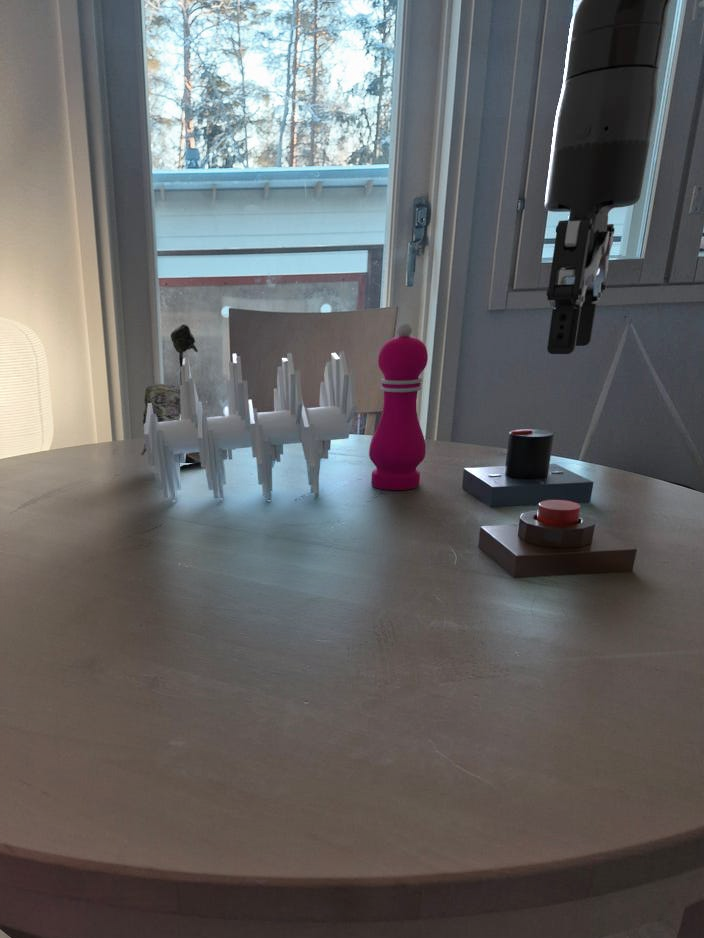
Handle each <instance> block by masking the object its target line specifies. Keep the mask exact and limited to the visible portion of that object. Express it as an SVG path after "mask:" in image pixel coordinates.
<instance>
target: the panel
mask: <svg viewBox="0 0 704 938" xmlns="http://www.w3.org/2000/svg"><path fill="white" fill-rule="evenodd" d="M504 472H505V465H503V466H481V467H464V468H463V473H462V474H463V476H462V484H461V488H463V489H464V490H465V491H466V492H467V493H469V494H471V495H472V496H474V497H475V498H476V499H477V500H479V501H481V502H482V503H483V504H485V505H486V506H488V507H489V508H490V509H491V508H492V509H493V508H510V507H529V506H530V507H531V506H532V507H533V506H539V503H540V502H542V501H546V500H565V501H571V502H575V503H577V504H586V503H587V504H588V503H589V504H590V503H591V501H592V495H593V490H594V481H593V480H590V479H588V478H586V477H584V476H582V475H580V474H578V473H575V472H573V471H571V470H569V469H567V468H565V467H563V466H561V465H559V464H557V463H550V464H549V471H548V476H547V477H544V478H539V479H520V478H513V477H509V476H507V475H505V473H504Z"/></svg>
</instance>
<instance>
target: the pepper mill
mask: <svg viewBox="0 0 704 938" xmlns="http://www.w3.org/2000/svg"><path fill="white" fill-rule="evenodd" d="M412 332H413V327H412V325H411V324H410V323H409V322H401V323H400V324H398V326H397V328H396V333H397V335H398V336H395V337H393V338H391V339H389V340H387V341H385V343H384V344H383V345H382V346H381V348H380V350H379V353H378V359H377V362H378V368H379V370H380V371H381V373H382V374H383V378H381V380H380V382H381V387H380V390H381V391H382V392H383V406H382V407H383V408H382V413H381V415H380V420H379V422H378V425H377V426H376V429H375V431H374V433H373V435H372V438H371V440H370V444H369V449H368V457H369V460H370V461H371V463H373V465H374V466H375V467H376V468H375V469H373V470H372V472H371V482H370V483H371V484H370V485H372V487H374V488H376V489H380V490H386V491H406V490H407V491H408V490H412V489H416V488H418V487H419V485H420V481H421V480H420V478H421V471H419V470H418V469H417V468H418V467H419V465H420V464H421V463H422V462H423V460H424V459H425V457H426V441H425V436H424V433H423V429H422V427H421V425H420V422H419V417H418V412H417V400H418V392H419V391H421V390H422V386H421V385H422V383H421V382H423V378H421V377H420V376H421V374H422V372H423V371H424V370H425V369H426V367H427V365H428V360H429V358H428V357H429V353H428V349H427V346H426V345H425V343H424V342H423V341H422V340H421V339H419V338H417V337H415V336H411V334H412Z"/></svg>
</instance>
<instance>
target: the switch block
mask: <svg viewBox="0 0 704 938" xmlns="http://www.w3.org/2000/svg"><path fill="white" fill-rule="evenodd" d="M537 513H538V509H532V510H529V511H525V512H522V513H521V515H520V517H519V519H518V524H502V525H483V526H482V525H481V526H480V527H479V535H478V544H477V547H478V548H479V549H480V551H482V552H483V553H484V554H485V555H486V556H488V557H489V558H490V559H491V560H492V561H493V562H494V563H496V565H498V566H499V567H500V568H501V569H502V570H504V571H505V572H506V573H507V574H508V575H509V576H510V577H512V578H513V579H526V578H542V577H562V576H581V575H597V574H598V575H600V574H614V573H616V574H618V573H632V572H633V570H634V565H635V561H636V556H637V552H638V551H637V550H638V549H637V548H635V547H634V546H632V545H630V544H628V543H627V542H625V541H624V540H622V539H620V538H618V537H616V536H615V535H613V534H611V533H610V532H608V531H606V530H604V529H602V528H601V527H599V526H597V525H596V522H597V519H595V518H593V517H592V516H590V515H588V514H586V513H582V512H580V514H579V520H578V524H576V525H563V526H561V525H550V524H545V523H542V522H538V521H536V520H537Z"/></svg>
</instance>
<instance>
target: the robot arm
mask: <svg viewBox="0 0 704 938" xmlns="http://www.w3.org/2000/svg"><path fill="white" fill-rule="evenodd" d="M671 1H672V0H578V2H577V4H576V6H575V8H574V11H573V14H572V18H571V22H570V28H569V35H568V40H567V41H568V43H567V49H566V57H565V67H564V74H563V83H562V88H561V93H560V97H559V101H558V105H557V109H556V114H555V118H554V119H555V120H554V126H553V134H552V135H553V136H552V143H551V151H550V158H549V159H550V160H549V167H548V175H547V181H546V190H545V198H544V200H545V201H544V208H545V209H546V211H548V212H552V213H566V212H567V213H568V212H569V214H568V218H567V219H565V220H559V221H558V223H557V225H556V226H555V233H556V234H555V240H554V246H553V247H554V248H553V255H552V260H551V267H550V268H551V269H550V273H549V282H548V287H547V288H548V289H547V290H546V296H547V301H549V304H550V308H552V311H551V318H550V325H549V334H548V341H547V348H546V350H547V353H549V354H551V355H569V354H572V353H573V352H575V350H576V347H585V346H588V345H589V344H590V343H591V342H592V336H593V331H594V324H595V318H596V312H597V305H598V304H597V303H599V302H600V299H602V295H603V294H604V292H605V291H606V287H607V284H606V279H607V275H608V272H609V262H610V253H611V250H612V247H613V243H614V235H615V231H616V230H615V229H616V228H615V227H614V226H615V225H614V223H609V212H610V211H611V210H613V209H616V208H625V207H630V206H633V205H635V204H636V203H638V202H639V200H640V198H641V194H642V189H643V188H642V187H643V184H644V178H645V172H646V165H647V160H648V154H649V150H650V149H649V148H650V142H651V137H652V131H653V125H654V119H655V115H656V107H657V98H658V97H657V95H658V79H659V69H660V64H661V59H662V54H663V48H664V47H663V46H664V41H665V35H666V30H667V29H666V28H667V24H668V16H669V15H668V14H669V8H670V5H671Z"/></svg>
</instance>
